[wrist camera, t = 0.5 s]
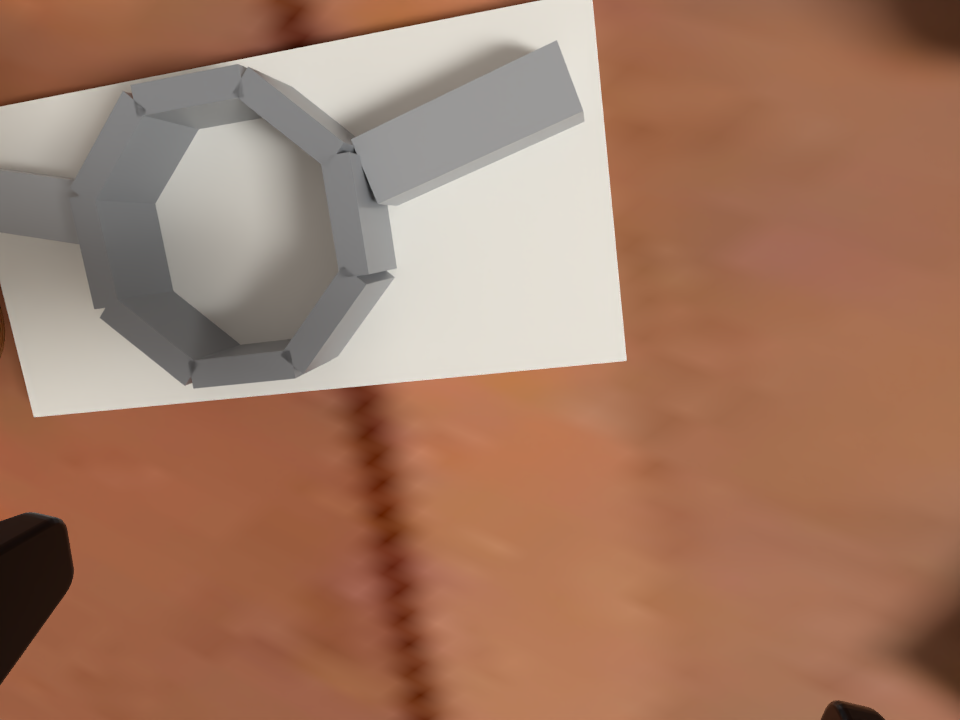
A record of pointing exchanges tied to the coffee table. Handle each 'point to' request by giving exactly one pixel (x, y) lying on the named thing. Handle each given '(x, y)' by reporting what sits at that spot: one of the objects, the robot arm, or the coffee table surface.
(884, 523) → the coffee table surface
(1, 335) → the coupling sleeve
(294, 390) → the coupling stand
